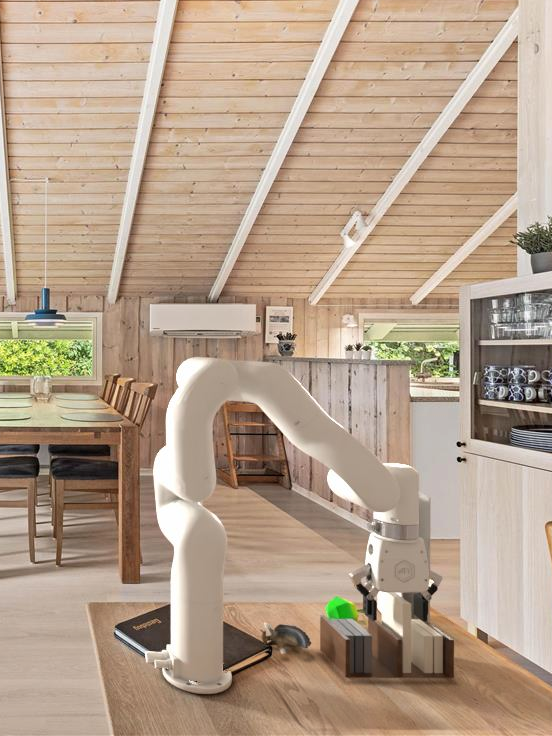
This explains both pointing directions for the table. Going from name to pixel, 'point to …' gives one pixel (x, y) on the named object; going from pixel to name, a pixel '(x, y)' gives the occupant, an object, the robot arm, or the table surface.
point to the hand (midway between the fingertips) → (395, 618)
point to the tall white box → (425, 535)
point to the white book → (398, 623)
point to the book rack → (379, 652)
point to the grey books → (357, 645)
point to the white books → (426, 647)
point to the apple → (342, 609)
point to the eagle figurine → (286, 638)
